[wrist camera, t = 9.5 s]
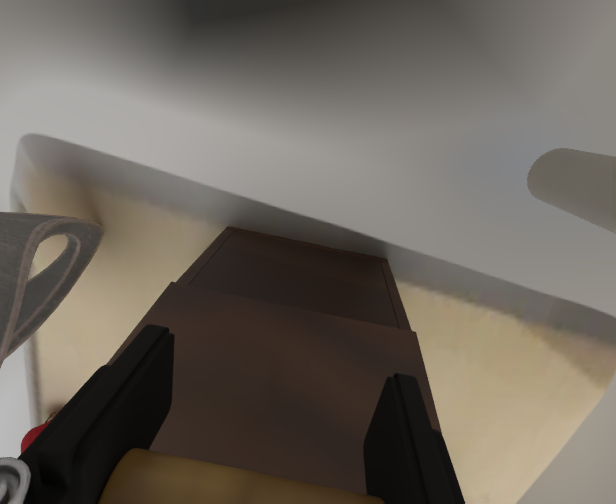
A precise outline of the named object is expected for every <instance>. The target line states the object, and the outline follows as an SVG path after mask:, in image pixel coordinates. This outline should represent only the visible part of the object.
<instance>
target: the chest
mask: <svg viewBox="0 0 616 504" xmlns="http://www.w3.org/2000/svg"><path fill="white" fill-rule="evenodd" d="M176 283H180V284H185V285H190V286H195V287H200V288H204V289H209V290H214V291H219V292H224V293H229V294H234V295H238V296H243V297H248V298H253V299H258V300H263V301H268V302H272V303H277V304H282V305H287V306H292V307H297V308H301V309H306V310H311V311H316V312H321V313H326V314H331V315H335V316H340V317H345V318H350V319H355V320H360V321H365V322H369V323H374V324H379V325H384V326H389V327H394V328H399V329H403V330H408V331H412V330H411V327H410V324H409V321H408V318H407V316H406V313H405V310H404V307H403V304H402V301H401V298H400V295H399V292H398V289H397V286H396V283H395V280H394V277H393V274H392V272H391V269H390V266H389V263H388V260H387V259H383V258H378V257H373V256H368V255H364V254H359V253H354V252H349V251H344V250H339V249H335V248H330V247H325V246H320V245H315V244H310V243H306V242H301V241H296V240H291V239H286V238H281V237H277V236H272V235H267V234H262V233H257V232H252V231H248V230H243V229H238V228H233V227H228V226H227V227H226V229H225V230H224V231H223V232H222V233H221V234H220V235H219V236H218V237H217V238H216V239H215V240H214V241H213V243H212V244H211V245H210V246H209V247H208V248H207V249H206V250H205V251H204V252H203V253H202V254H201V256H200V257H199V258H198V259H197V260H196V261H195V262H194V263H193V264H192V265H191V266H190V267H189V269H188V270H187V271H186V272H185V273H184V274H183V275H182V276H181V277H180V278H179V279H178V280H177V282H176Z"/></svg>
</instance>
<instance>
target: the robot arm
mask: <svg viewBox="0 0 616 504" xmlns="http://www.w3.org/2000/svg"><path fill="white" fill-rule="evenodd" d="M174 340H175V336H174V334H172V333H169V328H168V327H163V326H158V325H153V324H147V325H146V326H145V327H144V328H143V329H142V330H141V331H140V332H139V334H138V335H137V336H136V337H135V338H134V339H133V341H132V342H131V343H130V344H129V345H128V346H127V347H126V349H125V350H124V351H123V352H122V353H121V354H120V356H119V357H118V358H117V359H116V360H115V361H114V363H113V364H112V365H111V366H110V365H104V366H102V367H100V368H99V369H98V370H97V371H96V372H95V373H94V374H93V375H92V376H91V377H90V379H89V380H88V381H87V382H86V383H85V384H84V385H83V386H82V387H81V389H80V390H79V391H78V392H77V393H76V394H75V395H74V396H73V397H72V399H71V400H70V401H69V402H68V403H67V404H66V405H65V406H64V407H63V409H62V410H61V411H60V412H59V413H58V414H57V415H56V416H55V417H54V418H53V420H52V421H51V422H50V423H49V424H48V425H47V426H46V427H45V428H44V430H43V431H42V432H41V433H40V434H39V435H38V436H37V437H36V438H35V440H34V441H33V442H32V443H31V444H30V445H29V446H28V447H27V448H26V450H25V451H24V452H23V453H22V454H21V455H20V456H19V457H18V458H17V459H16V458H12V457H9V458H8V457H7V458H0V504H97V503H98V501H99V498H100V496H101V493H102V491H103V489H104V487H105V484H106V482H107V480H108V478H109V477H110V475H111V473H112V471H113V470H114V468H115V467H116V465H117V463H118V462H119V461H120V459H121V458H122V457H123V455H124V454H125V453H126V452H127V451H129V450H130V449H133V448H140V449H145V450H149V448H150V446H151V445H152V443H153V441H154V439H155V437H156V435H157V434H158V432H159V430H160V428H161V426H162V424H163V422H164V421H165V419H166V417H167V415H168V413H169V410H170V408H171V404H172V390H173V365H174ZM363 456H364V468H365V480H366V491H367V495H371V496H376V497H380V498H381V499H382V500H383V501H384V502H385V504H465V501H464V498H463V495H462V492H461V489H460V486H459V483H458V480H457V477H456V474H455V471H454V468H453V465H452V462H451V459H450V456H449V453H448V450H447V447H446V444H445V441H444V438H443V436H442V434H441V433H440V432H439V431H438V430H435V429H432V426H431V423H430V419H429V416H428V413H427V410H426V407H425V403H424V400H423V397H422V394H421V390H420V387H419V384H418V381H417V378H416V377H415V376H410V375H405V374H400V373H395V374H394V375H393V377H387V379H386V381H385V384H384V387H383V390H382V392H381V395H380V398H379V400H378V403H377V406H376V409H375V411H374V414H373V417H372V420H371V422H370V425H369V428H368V431H367V433H366V436H365V439H364V444H363Z"/></svg>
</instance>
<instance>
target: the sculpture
mask: <svg viewBox="0 0 616 504" xmlns="http://www.w3.org/2000/svg"><path fill="white" fill-rule="evenodd" d="M62 234H65V235H66V236H67V237H68V245H67V247H66V249H65V250H64V251H63V252H62V254H61V255H60V256H59V257H58V258H57V259H56V260H55V261H54V262H53V263H52V264H51V265H49V266H48V267H47V268H46V269H44V270H43V271H42V272H40V273H39V274H37V275H36V276H34V277H33V278H31V279H30V280H28V281H27V279H28V275H29V271H30V268H31V264H32V261H33V258H34V255H35V252H36V250H37V248H38V245H39V244H40V243H41V242H42V241H43V240H45V239H47V238H49V237H51V236H54V235H62ZM103 234H104V229H103V227H102V226H101V225H100V224H98V223H96V222H92V221H89V220H84V219H78V218H73V217H65V216H57V215H44V214H31V213H11V212H0V368H1V365H2V363H3V361H4V359H5V358H7V357H8V356H9V355H10V354H12V353H13V352H14V351H15V350H16V349H17V348H18V347H19V346H21V345H22V344H23V343H24V342H25V341H26V340H27V339H28V338H29V337H30V336H31V335H32V334H33V333H34V332H35V331H36V330H37V329H38V328H39V327H40V326H41V325H42V324H43V323H44V322H45V321H46V320H47V318H48V317H49V316H50V315H51V314H52V313H53V312H54V311H55V309H56V308H57V307H58V306H59V304H60V303H61V302H62V300H63V299H64V298H65V297H66V295H67V294H68V293H69V292H70V290H71V289H72V287H73V286H74V284H75V283H76V281H77V280H78V278H79V277H80V276H81V274H82V273H83V271H84V270H85V268H86V267H87V265H88V264H89V262H90V261H91V259H92V257H93V256H94V254H95V252H96V251H97V249H98V247H99V245H100V242H101V240H102V237H103Z"/></svg>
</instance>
